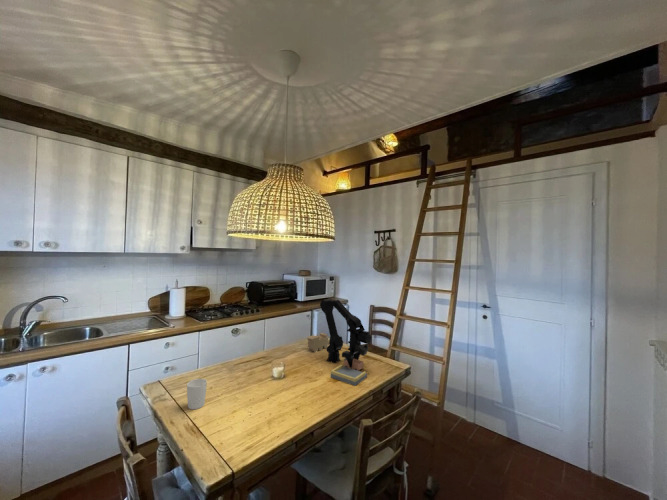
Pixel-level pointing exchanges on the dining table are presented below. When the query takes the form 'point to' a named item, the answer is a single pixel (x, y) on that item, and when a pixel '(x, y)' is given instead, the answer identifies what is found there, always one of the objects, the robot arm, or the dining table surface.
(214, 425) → the dining table surface
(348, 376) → the dock
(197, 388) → the white cup
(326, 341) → the toy train
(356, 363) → the pink panel on base
